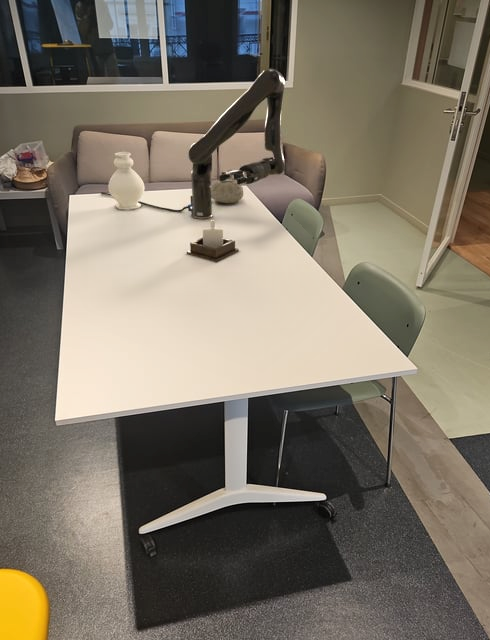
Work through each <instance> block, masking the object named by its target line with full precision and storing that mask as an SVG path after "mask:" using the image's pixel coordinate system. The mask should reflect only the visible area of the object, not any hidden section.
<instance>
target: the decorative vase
mask: <svg viewBox="0 0 490 640" xmlns="http://www.w3.org/2000/svg"><path fill="white" fill-rule="evenodd" d="M131 155H132V154H131V152H129V151H119V152H115V153H114V157H116V158H114V160H113V165H114V166H115V167H116V168H117V169H116V170H115V172H114V173H113V174H112V175H111V177H110V179H109V181H108V186H107V187H108V188H107V190H108V193H110V194H111V195H112V196H111V195H110V196H111V197H112V198H113V199H114V200H115V201H116V202H117V203H116V205H115V208H117V209H118V210H123V211H128V210H137V209H140V208H141V207H142V204H140V203H138V201H141V199H142V197H143V195H144V193H145V189H146V188H145V183H144V181H143V179H142V178H141V176H140V175H139V174H138V173H137V172H136V171H135V170H134V169H133V168H132V167H133V166H134V160H133V158H131Z"/></svg>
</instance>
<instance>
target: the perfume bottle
mask: <svg viewBox="0 0 490 640" xmlns="http://www.w3.org/2000/svg"><path fill="white" fill-rule="evenodd" d="M215 224H216V223H215V219H211V220H210V227H204V228H202V238H203V245H205V246H208V247H212V248H217V247H219V246H221V245H223V238H224V228H222V227H216V225H215Z"/></svg>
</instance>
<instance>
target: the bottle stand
mask: <svg viewBox="0 0 490 640" xmlns="http://www.w3.org/2000/svg"><path fill="white" fill-rule="evenodd" d="M189 246H190V247H189V248H190V249H189V250H186V255H189V256H193V257H196V258H200V259H202V260H203V259H204V260H208V261H210V262H214V263H218V262H220V261H222V260H224V259H226V258H228V257H230V256H232V255H234V254H236V253H238V252H239V248H236V240H234V239H229V238H226V237H223V245H221V246H219V247H217V248H212V247H208V246H205V245H203V237H201V238H198V239H196V240H193V241H192V242H190V243H189Z"/></svg>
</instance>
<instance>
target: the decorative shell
mask: <svg viewBox="0 0 490 640" xmlns="http://www.w3.org/2000/svg"><path fill="white" fill-rule="evenodd" d="M211 194H212V200H214V201H216V202H218V203H222V204H234V203H238V202H239V201H241V200H242V199H243V197H244V187H243V186H242V184H240V185H238V184H237V180H236V181H231V180H224V181H220V180H218V181H217V182H215V183H213V185H211Z"/></svg>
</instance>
